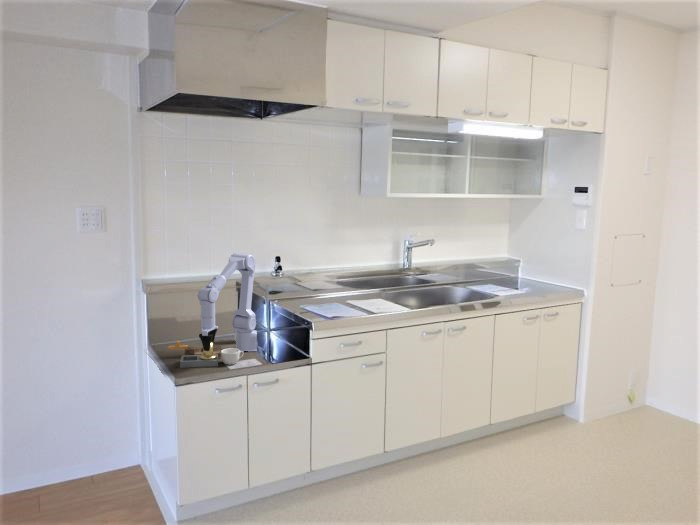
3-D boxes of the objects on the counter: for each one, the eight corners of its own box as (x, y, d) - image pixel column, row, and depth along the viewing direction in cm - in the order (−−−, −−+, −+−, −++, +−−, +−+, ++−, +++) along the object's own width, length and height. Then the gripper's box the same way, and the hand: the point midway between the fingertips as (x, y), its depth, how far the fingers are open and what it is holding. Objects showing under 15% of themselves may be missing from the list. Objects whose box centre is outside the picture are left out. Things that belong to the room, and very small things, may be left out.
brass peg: (213, 359, 247) (212, 339, 246) (219, 364, 241) (219, 343, 240) (197, 362, 243) (197, 341, 241) (203, 367, 237) (203, 345, 236)
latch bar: (187, 347, 251) (187, 340, 251) (187, 348, 249) (187, 341, 249) (168, 347, 250) (168, 341, 249) (168, 349, 247) (168, 342, 247)
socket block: (220, 351, 259) (220, 343, 258) (220, 358, 248) (220, 350, 248) (186, 352, 256) (185, 344, 255) (184, 360, 245) (184, 352, 245)
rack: (218, 359, 247) (218, 354, 247) (217, 366, 239) (217, 360, 238) (181, 361, 244) (181, 355, 243) (180, 367, 236) (180, 361, 235)
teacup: (225, 367, 238) (225, 354, 237) (217, 362, 244) (217, 350, 243) (247, 363, 244) (247, 350, 243) (239, 358, 250) (239, 346, 249)
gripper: (214, 320, 232) (214, 353, 234) (221, 312, 246) (221, 343, 248) (196, 320, 232) (197, 353, 234) (204, 312, 246) (205, 342, 248)
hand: (208, 347), depth 241 cm, fingers open, 7 cm apart
